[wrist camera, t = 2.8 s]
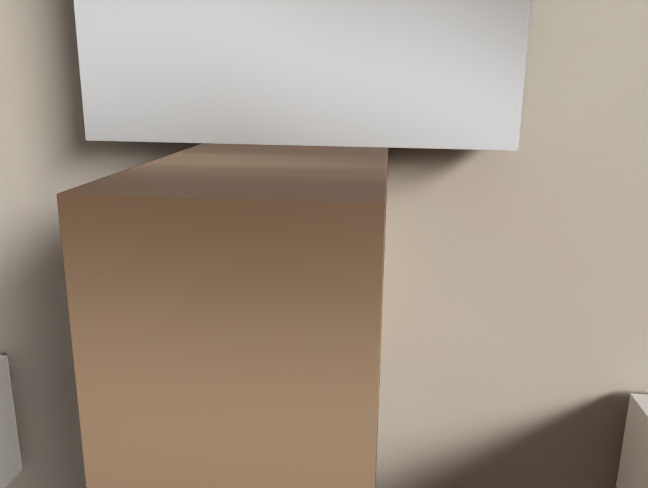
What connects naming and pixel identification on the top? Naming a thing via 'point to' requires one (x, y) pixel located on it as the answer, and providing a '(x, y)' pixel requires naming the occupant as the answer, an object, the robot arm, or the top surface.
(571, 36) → the top surface
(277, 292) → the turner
